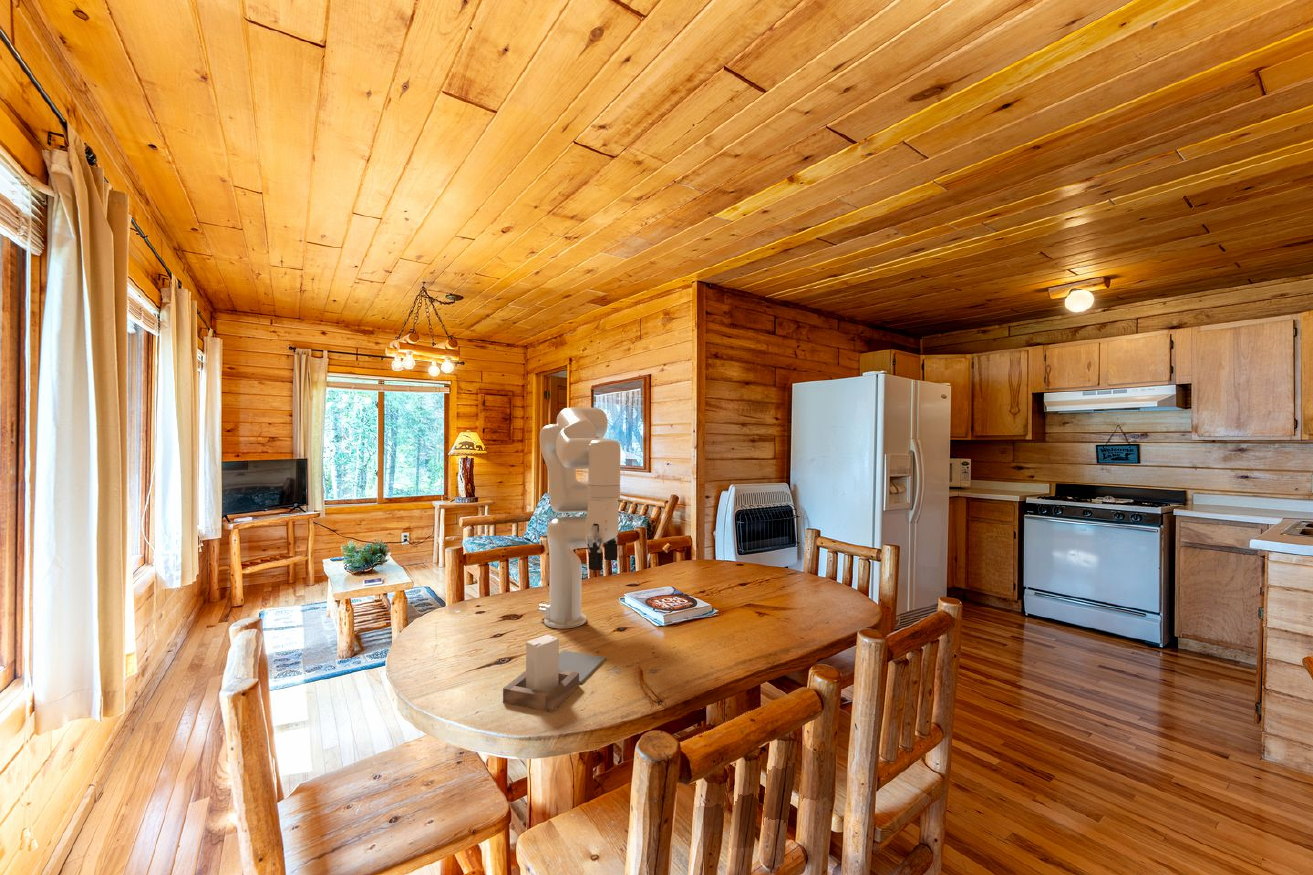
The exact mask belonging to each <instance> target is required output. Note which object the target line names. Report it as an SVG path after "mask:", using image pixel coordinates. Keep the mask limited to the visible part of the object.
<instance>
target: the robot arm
mask: <svg viewBox="0 0 1313 875" xmlns="http://www.w3.org/2000/svg"><path fill="white" fill-rule="evenodd" d="M607 430H608V417H607V415H606V413H605V412H604V410H603V409H601V408H598V407H577V406H576V407H573V406H570V407H565V408H563V409H562V410H561V411H559V413H558V414H557V417H556V423H552V424H547V425H545V426H543V427H542V428H541V430H540V432H539V446H540V452H541V454H542V457H543V460H544V463H545V465H546V469H547V477H548V491H549V492H548V493H549V502H550V507H551V510H552V511H553V512H555V513H559V514H568V513H569V514H570V513H571V514H572V513H585V514H586V515H581V516H580V515H578V516H577V515H576V516H562V517H557V518H553V519H552V520H550V521H549V523H548V524H547V528H546V536H547V544H548V552H549V597H548V598H549V599H548V600H549V605H548V604H545V603H544V604H543V603H540V604H539V606H538V613H539V614H545V616H544V618H543V623H544V625H545V626H547V627H549V628H552V629H559V630H560V629H561V630H564V629H573V628H578V627H580V626H582V625H584V624H585V623H586V622H587V615H586V614H585V613H583V612H582V581H583V580H582V577H583V576H582V575H583V574H582V573H583V572H582V569H583V567H582V561H581V558H580V557H579V556H578V555H577V554H576V552H575V551H574V550H575V549H577V550H578V549H584V548H585V549H586V548H588V549H587V552H588V569H589V570H590V571H599V572H600V571H602V570H603V569H604V567H603V562H604V560H606V561H613V562H616V561H618V542H619V539H618V537H619V528H620V527H619V525H620V523H619V522H620V520H619V518H620V516H619V515H620V514H619V500H620V499H621V443H620V442H619V441H618V440H614V439H609V438H604V436H606V432H607ZM580 469H581V470H587V469H588V474H587V476H588V477H587V481H583V480H582V481H578V479H577V472H576V470H580ZM603 546H604V552H602V549H603ZM603 554H604V555H603Z"/></svg>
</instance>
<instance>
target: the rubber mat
mask: <svg viewBox="0 0 1313 875" xmlns="http://www.w3.org/2000/svg"><path fill="white" fill-rule="evenodd" d="M606 659H607V658H606V656H603V655H595V654H588V653H582V652H576V651H571V650H563V649H562V651H561V652H559V670H565V671H570V672H576V673H579V685H582V684H583V683H584V682H585V681H586V680H587V679H588V678H589V677H590V676H591V674H593V672H595V670H596V669H598V668H599V666H601V665H602V664H603V663H604V662H605V660H606Z"/></svg>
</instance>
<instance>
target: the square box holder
mask: <svg viewBox="0 0 1313 875" xmlns="http://www.w3.org/2000/svg"><path fill="white" fill-rule="evenodd" d="M579 687H580V684H579V673H576V672H570V671H565V670H559V675H558V685H557V686H556V687H555V688H554V689H553V690H552V691H551V692H550V693H549V692H544V691H539V690H533V689H528V688H526V670H524V671H523V672H522V673H521V674H519V675H518V676H517V677H516V678H514V679H513V680H512V681H511V682H509V683H508V684H507V685H505V686H504V687H503V688H502V703H505V704H511V705H515V706H519V707H524V708H530V709H535V710H539V711H545V712H549V713H554V712H555V711H556V710H557V709H558V708H559V707H560V706H561V705H562V704H563V703H564V702H565V701H566V700H567V699H568V698H569V697H570V696H571V695H572V694H573V693H574V692H575V691H576V690H577V689H578V688H579ZM560 704H561V705H560ZM558 706H559V707H558Z"/></svg>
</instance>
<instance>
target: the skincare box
mask: <svg viewBox="0 0 1313 875" xmlns="http://www.w3.org/2000/svg"><path fill="white" fill-rule="evenodd" d="M559 644H560V640H559V638H558V637H555V636H552V635H550V634H544V635H543V636H540V637H537V638H534V639H532V640H528V641H527V642H526V645H525V651H526V652H525V654H526V655H525V666H526V667H525V671H526V688H528V689H533V690H539V691H544V692H549V693H550V692H551V691H552V690H553V689H554V688H555V687H556V686H557V685H558V675H559V653H560V650H559V648H560V647H559Z"/></svg>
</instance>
